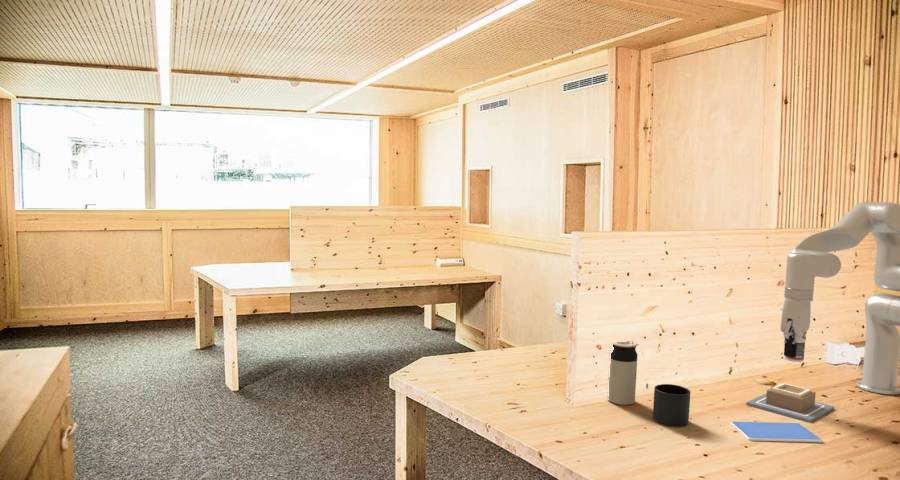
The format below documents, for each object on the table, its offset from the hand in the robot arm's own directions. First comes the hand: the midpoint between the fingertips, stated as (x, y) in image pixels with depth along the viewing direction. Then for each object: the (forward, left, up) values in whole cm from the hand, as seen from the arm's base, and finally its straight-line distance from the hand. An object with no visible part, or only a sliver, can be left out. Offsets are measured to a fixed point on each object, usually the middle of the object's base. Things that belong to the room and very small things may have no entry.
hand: (794, 354), depth 194 cm
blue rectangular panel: (+25, +6, -17) cm, 31 cm away
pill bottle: (0, 0, -2) cm, 2 cm away
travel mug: (+37, -34, -16) cm, 53 cm away
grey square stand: (0, 0, -16) cm, 16 cm away
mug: (+39, -17, -16) cm, 46 cm away
